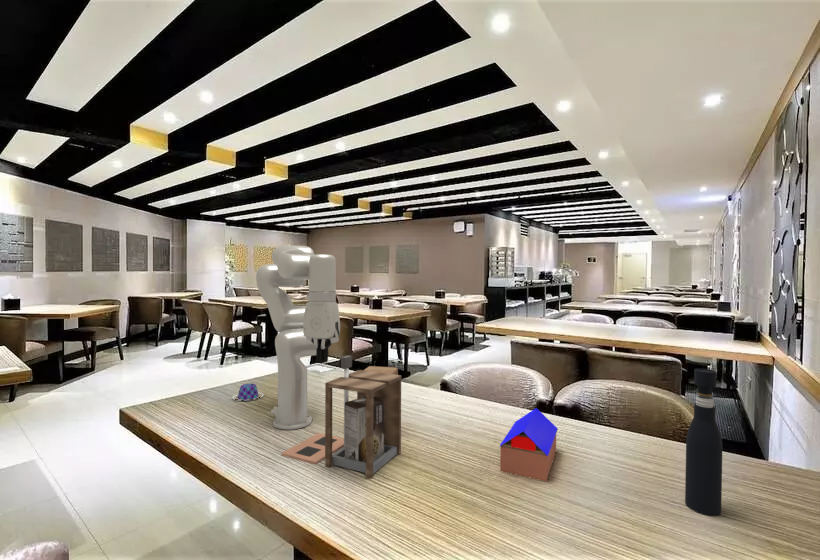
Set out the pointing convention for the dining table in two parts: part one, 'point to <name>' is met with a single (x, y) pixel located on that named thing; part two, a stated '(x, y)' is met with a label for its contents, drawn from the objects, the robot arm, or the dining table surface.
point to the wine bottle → (704, 450)
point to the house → (529, 446)
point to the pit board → (313, 448)
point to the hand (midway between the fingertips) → (322, 361)
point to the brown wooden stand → (368, 409)
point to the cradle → (339, 455)
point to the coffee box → (363, 429)
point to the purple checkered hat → (248, 392)
